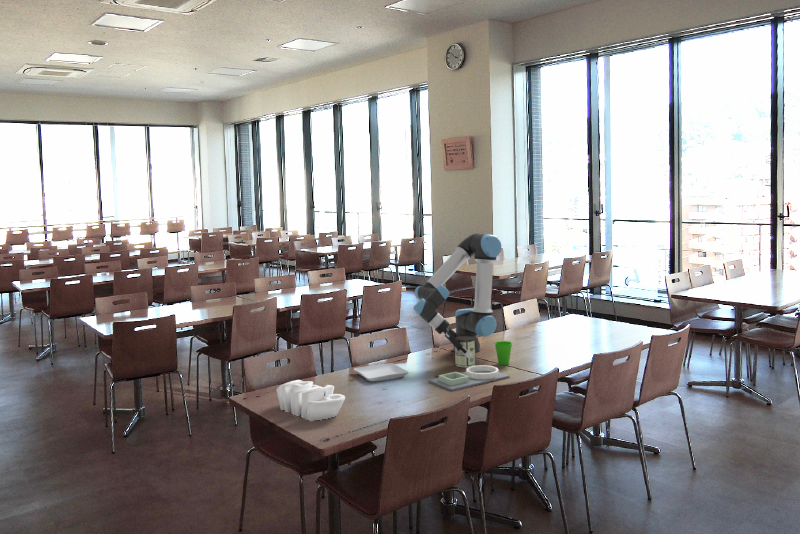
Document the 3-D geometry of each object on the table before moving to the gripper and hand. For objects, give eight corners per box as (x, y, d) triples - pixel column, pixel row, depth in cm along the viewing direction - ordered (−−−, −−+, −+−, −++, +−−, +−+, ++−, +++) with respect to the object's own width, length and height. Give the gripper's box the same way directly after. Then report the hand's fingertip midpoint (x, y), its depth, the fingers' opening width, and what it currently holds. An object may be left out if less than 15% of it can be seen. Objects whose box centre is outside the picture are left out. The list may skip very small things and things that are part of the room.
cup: (512, 366, 336) (512, 345, 334) (494, 366, 338) (493, 344, 336) (513, 361, 344) (512, 340, 343) (495, 361, 346) (494, 340, 345)
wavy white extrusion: (270, 406, 286) (268, 382, 284) (302, 397, 296) (301, 374, 295) (316, 426, 259) (315, 400, 258) (350, 416, 270) (349, 390, 269)
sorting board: (428, 382, 314) (428, 374, 313) (484, 369, 332) (484, 362, 331) (451, 391, 299) (451, 383, 298) (509, 377, 317) (509, 370, 316)
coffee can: (459, 361, 348) (458, 334, 347) (478, 363, 344) (477, 336, 342) (452, 366, 339) (451, 339, 338) (471, 368, 335) (471, 340, 333)
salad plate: (352, 374, 332) (352, 367, 332) (392, 368, 340) (392, 362, 340) (368, 385, 313) (368, 378, 312) (409, 378, 321) (409, 371, 321)
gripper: (435, 324, 353) (466, 353, 352) (432, 333, 330) (465, 365, 330) (445, 314, 351) (476, 343, 351) (442, 323, 329) (475, 354, 329)
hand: (471, 354), depth 341 cm, fingers closed on coffee can, 10 cm apart
